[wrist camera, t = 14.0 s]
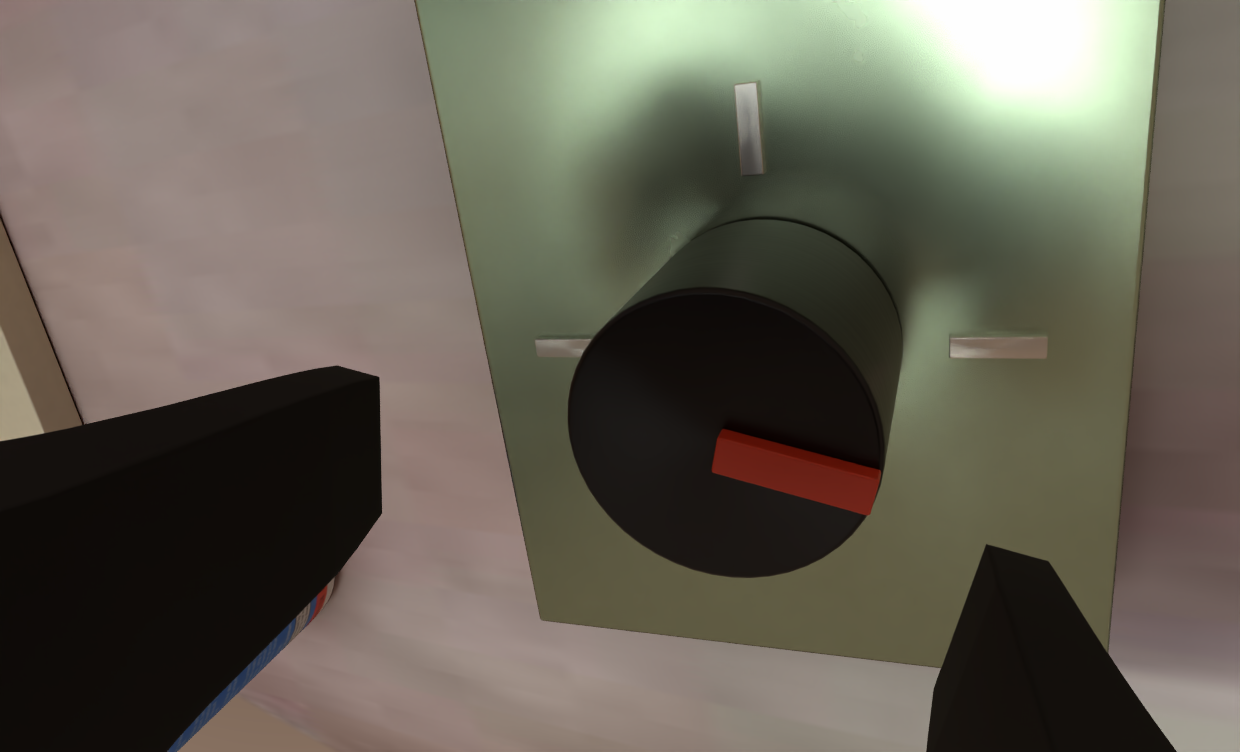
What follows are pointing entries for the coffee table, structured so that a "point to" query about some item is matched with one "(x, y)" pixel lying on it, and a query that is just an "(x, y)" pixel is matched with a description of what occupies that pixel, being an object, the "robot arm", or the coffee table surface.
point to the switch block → (27, 361)
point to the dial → (742, 401)
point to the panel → (852, 214)
